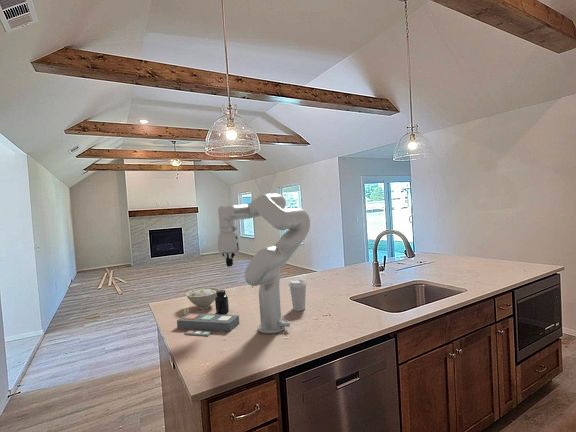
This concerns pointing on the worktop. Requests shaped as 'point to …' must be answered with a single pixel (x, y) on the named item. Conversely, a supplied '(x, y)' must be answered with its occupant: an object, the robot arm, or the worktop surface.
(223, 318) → the cream key
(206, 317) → the sage key
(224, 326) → the keypad
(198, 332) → the card
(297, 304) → the coffee cup
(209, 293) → the bowl
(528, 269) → the worktop surface
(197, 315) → the terracotta key
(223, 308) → the supplement bottle
